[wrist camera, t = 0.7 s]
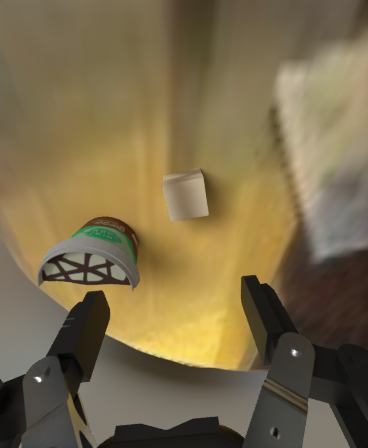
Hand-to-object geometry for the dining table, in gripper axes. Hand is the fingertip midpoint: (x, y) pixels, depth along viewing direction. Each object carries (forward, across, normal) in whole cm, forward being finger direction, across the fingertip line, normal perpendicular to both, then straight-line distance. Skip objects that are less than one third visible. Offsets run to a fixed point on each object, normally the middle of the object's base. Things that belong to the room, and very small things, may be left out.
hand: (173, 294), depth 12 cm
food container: (+21, +11, +5) cm, 24 cm away
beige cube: (+21, -2, 0) cm, 21 cm away
